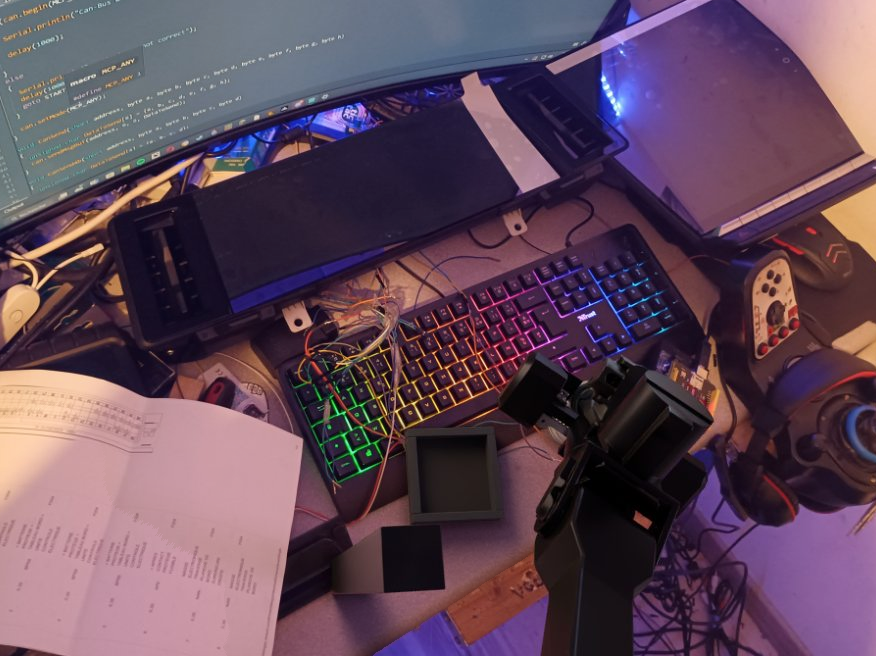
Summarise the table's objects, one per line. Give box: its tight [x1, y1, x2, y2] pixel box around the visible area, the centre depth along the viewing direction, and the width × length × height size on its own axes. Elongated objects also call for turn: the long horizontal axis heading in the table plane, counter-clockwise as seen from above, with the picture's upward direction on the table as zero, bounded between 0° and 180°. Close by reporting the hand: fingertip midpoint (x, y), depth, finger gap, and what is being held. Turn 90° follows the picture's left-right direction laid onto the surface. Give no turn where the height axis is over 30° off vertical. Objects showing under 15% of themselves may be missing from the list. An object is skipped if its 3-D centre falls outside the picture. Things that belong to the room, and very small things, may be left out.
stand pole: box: [331, 523, 446, 595], centre depth 52 cm, size 3×3×38 cm
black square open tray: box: [404, 426, 505, 525], centre depth 73 cm, size 9×9×2 cm
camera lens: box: [547, 380, 594, 446], centre depth 75 cm, size 6×6×8 cm
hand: (601, 400), depth 73 cm, fingers closed on camera lens, 6 cm apart
